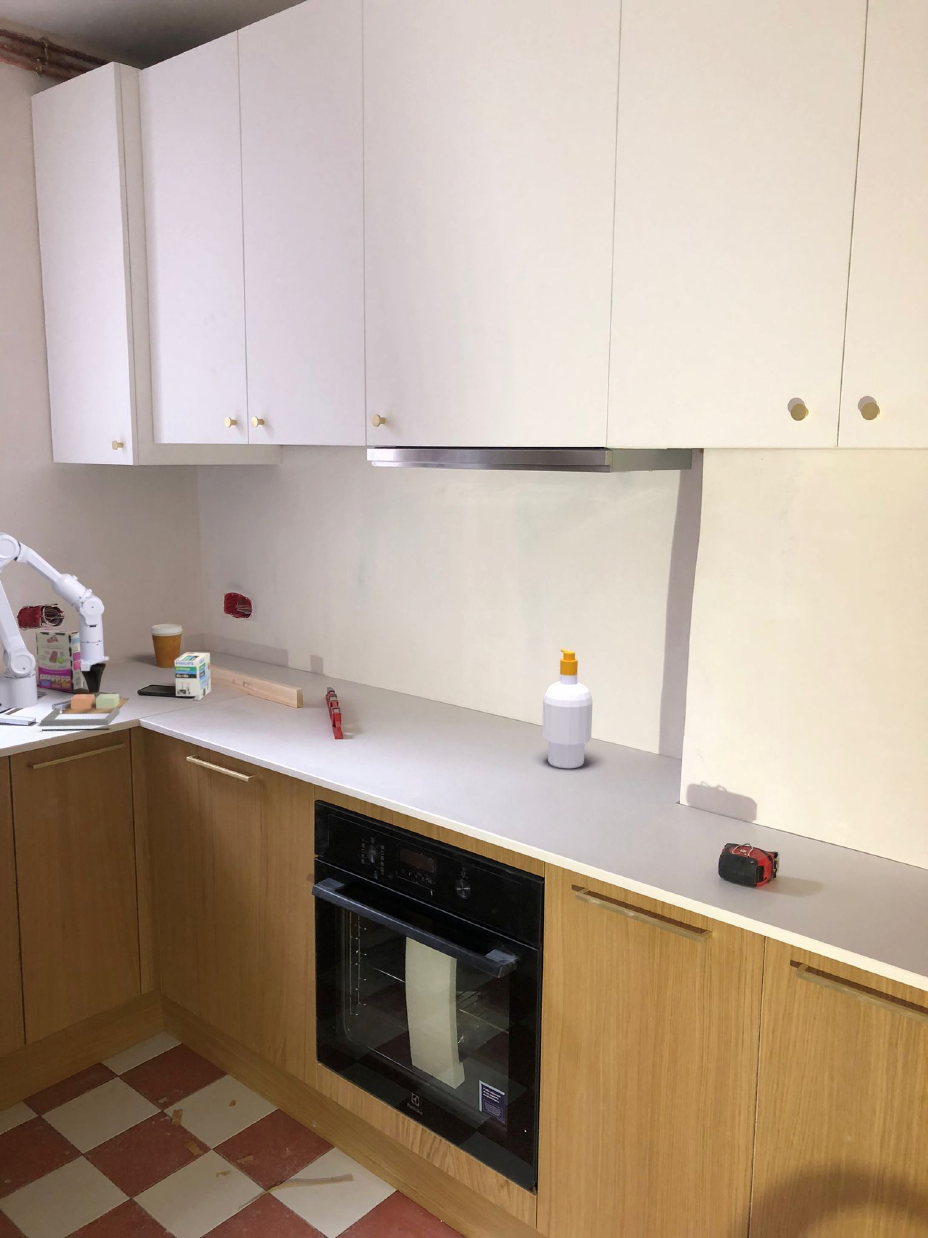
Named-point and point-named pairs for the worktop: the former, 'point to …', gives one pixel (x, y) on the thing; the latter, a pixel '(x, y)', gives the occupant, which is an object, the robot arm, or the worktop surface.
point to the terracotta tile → (82, 701)
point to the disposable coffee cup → (166, 643)
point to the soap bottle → (567, 716)
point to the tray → (76, 721)
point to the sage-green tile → (107, 701)
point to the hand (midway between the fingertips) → (94, 692)
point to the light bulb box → (193, 675)
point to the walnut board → (94, 709)
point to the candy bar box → (59, 659)
